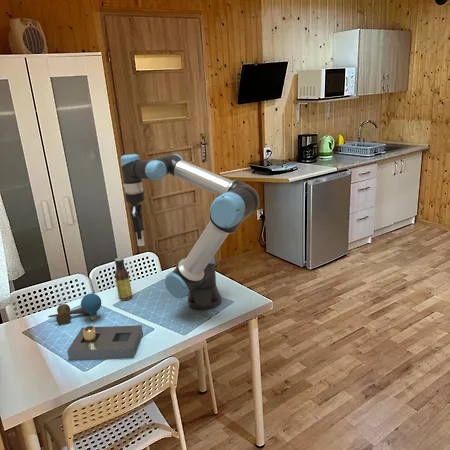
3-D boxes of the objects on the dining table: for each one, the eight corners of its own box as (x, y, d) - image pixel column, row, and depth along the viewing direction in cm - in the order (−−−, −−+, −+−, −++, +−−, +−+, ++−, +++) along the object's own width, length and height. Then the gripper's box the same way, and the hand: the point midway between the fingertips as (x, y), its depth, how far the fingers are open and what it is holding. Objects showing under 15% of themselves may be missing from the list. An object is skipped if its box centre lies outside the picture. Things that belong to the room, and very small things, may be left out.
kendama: (97, 318, 186) (48, 328, 180) (96, 309, 195) (49, 318, 189) (96, 306, 185) (46, 315, 178) (94, 297, 193) (47, 305, 187)
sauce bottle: (135, 296, 203) (129, 257, 197) (125, 302, 198) (120, 262, 192) (125, 294, 207) (119, 255, 200) (115, 299, 202) (109, 260, 196)
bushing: (99, 343, 166) (96, 325, 164) (95, 350, 162) (92, 331, 160) (88, 344, 167) (84, 325, 164) (84, 350, 162) (80, 331, 160)
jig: (142, 334, 171) (141, 325, 170) (133, 358, 156) (132, 348, 155) (83, 336, 172) (82, 327, 171) (68, 360, 157) (67, 350, 156)
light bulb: (93, 326, 179) (88, 300, 175) (79, 321, 183) (75, 296, 180) (108, 317, 186) (104, 292, 182) (94, 313, 190) (90, 288, 186)
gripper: (128, 189, 184) (135, 240, 191) (121, 196, 172) (129, 251, 179) (145, 188, 184) (152, 239, 191) (140, 195, 172) (147, 250, 179)
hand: (141, 245), depth 185 cm, fingers closed
